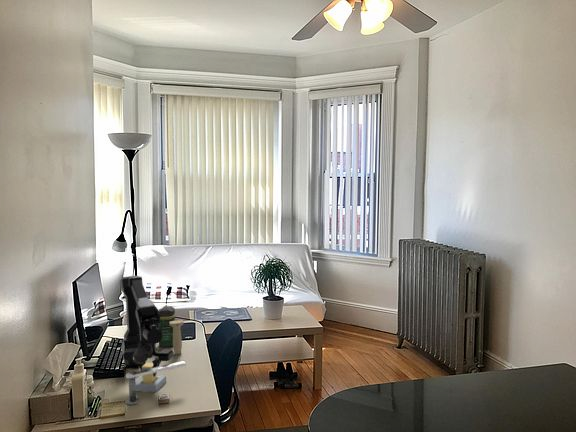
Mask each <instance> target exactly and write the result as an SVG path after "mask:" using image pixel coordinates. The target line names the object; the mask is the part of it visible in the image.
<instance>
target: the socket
mask: <svg viewBox="0 0 576 432" xmlns="http://www.w3.org/2000/svg"><path fill="white" fill-rule="evenodd" d="M135 381H136V380H135ZM165 383H167V375H157V380H156V381H155V382H154V383H143V380H142V376H140V377H139V379H137V381H136V392H137V391H138V392H151V393H152V392H153V393H154V392H155V393H156V392H157V391H159V390H160V389H161V388H162V387H163V386H164V385H165Z"/></svg>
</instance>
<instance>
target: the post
mask: <svg viewBox="0 0 576 432" xmlns="http://www.w3.org/2000/svg"><path fill="white" fill-rule="evenodd" d="M127 380H128V381H127V382H128V395H129V396H128V398H127V399H126V400H125V405H127V406H135V405H137V404H140V402H141V399H140V398H139V397H137V391H136V378H133V379H127Z"/></svg>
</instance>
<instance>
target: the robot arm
mask: <svg viewBox="0 0 576 432" xmlns="http://www.w3.org/2000/svg"><path fill="white" fill-rule="evenodd" d="M143 283H144V282H143V277H142V276H140V275H130V276H129V275H128V276H122V278H121V279H119V287H120V289H121V292H122V294H124V296H125V309H126V311H125V312H126V331H125V333H124V335H123V340H122V342H121V353H122V359H123V360H124V365H126V368H127V369H128V368H129V369H138V368H139V371H142V366H143V365H144V364H146V363H147V361H148V359H152V358H154V359H153V360H152V361H151V363H153V368H155V367H159V366H160V364H161V363H162V362H169V361H170V360H172V359H173V358H174V356H175V353H174V349H171V348H169V349H167V348H165V349H163V350H162V351H158V347H157V346H156V345H157V344H159V341H160V340H161V339H162V332H161V331H160V330H159V327H157V325H158V323H160V315H159V312H158V311H159V309H158V307H157V306H156V305H155V303H154V301H153V300H152V299H149V297H148V295H147V292H146V289H145V287H144V285H143ZM157 373H158V372H155V373H153V375H154V377H155V376H156V374H157Z"/></svg>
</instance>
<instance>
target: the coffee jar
mask: <svg viewBox="0 0 576 432" xmlns="http://www.w3.org/2000/svg"><path fill="white" fill-rule="evenodd" d="M158 312H159V315H160V323H157V325H158V329H159V330H160V331H161V332H162V339H161V340H160V341H159V342H158V346H159V347H163V348H168V347H173V327H171V326H170V325H169V322H171V321H176V309H175V307H173V305H167V306H166V305H165V306H163V307H161V308H159V309H158Z"/></svg>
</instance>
